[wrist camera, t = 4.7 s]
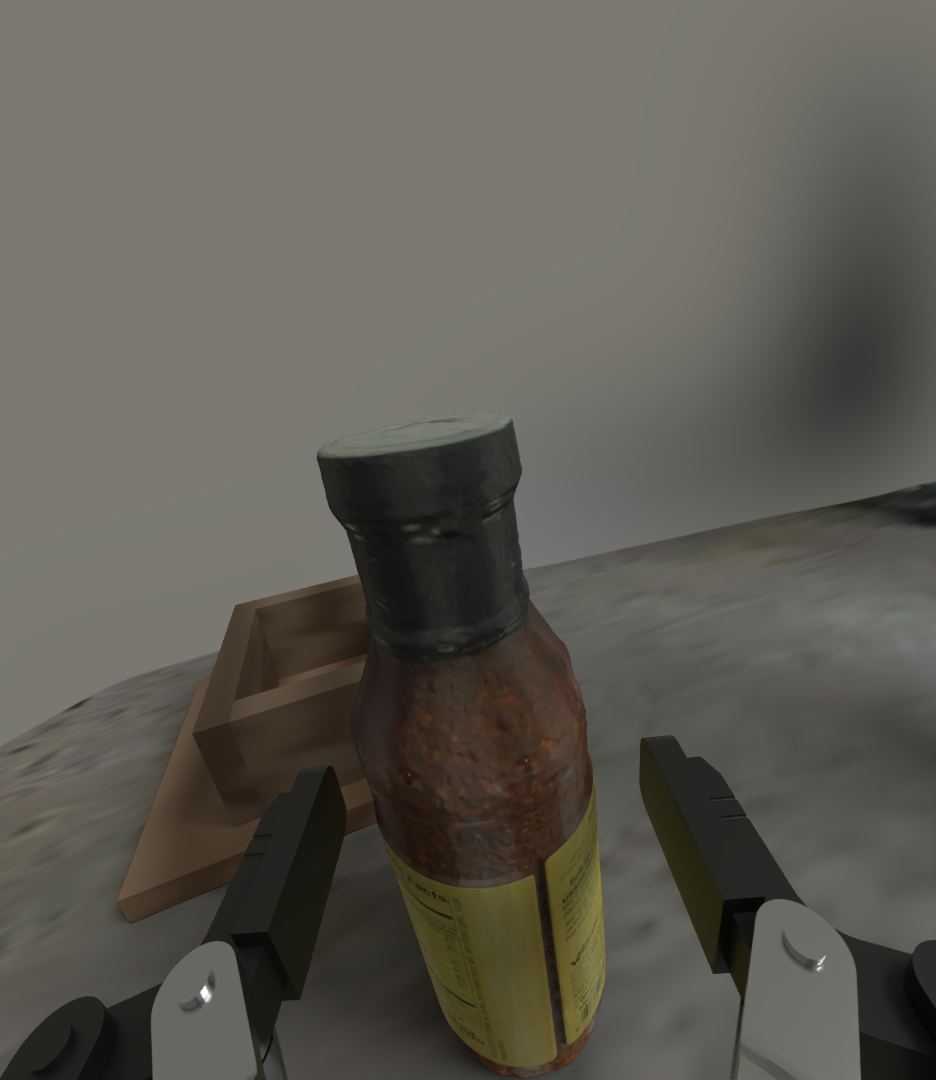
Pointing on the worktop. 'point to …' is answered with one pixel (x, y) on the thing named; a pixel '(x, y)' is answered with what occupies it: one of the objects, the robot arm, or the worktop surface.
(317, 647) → the walnut caddy
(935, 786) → the worktop surface
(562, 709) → the sauce bottle
